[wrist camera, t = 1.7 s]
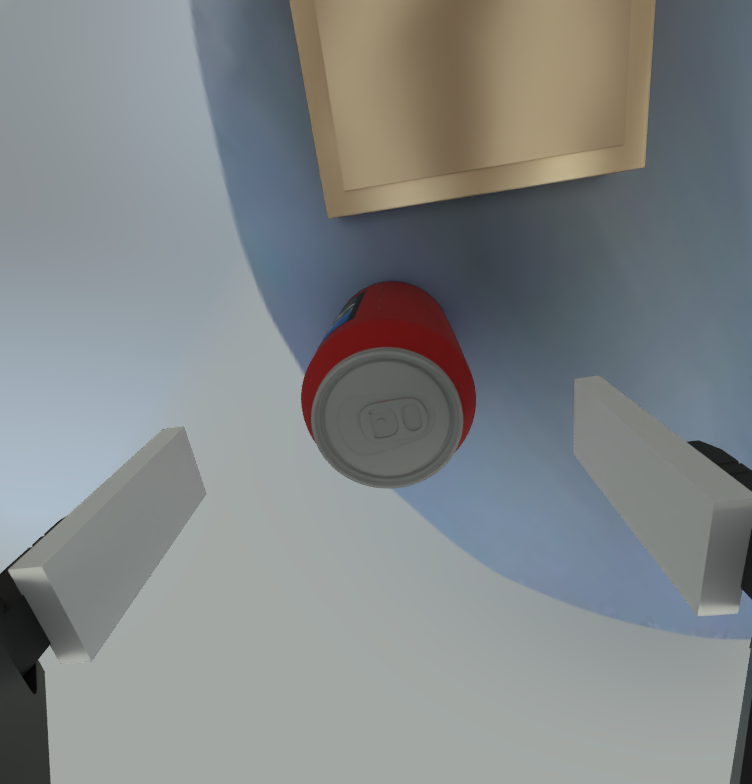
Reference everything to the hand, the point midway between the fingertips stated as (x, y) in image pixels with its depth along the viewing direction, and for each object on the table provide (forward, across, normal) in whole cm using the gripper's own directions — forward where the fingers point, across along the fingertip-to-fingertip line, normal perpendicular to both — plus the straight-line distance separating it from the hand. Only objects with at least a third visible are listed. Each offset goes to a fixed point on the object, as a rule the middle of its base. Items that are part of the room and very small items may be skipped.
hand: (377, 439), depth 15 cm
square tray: (+12, +6, +14) cm, 20 cm away
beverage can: (+13, 0, 0) cm, 13 cm away
